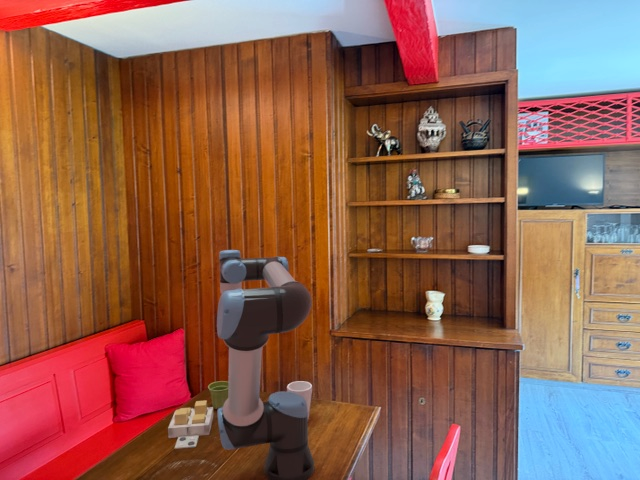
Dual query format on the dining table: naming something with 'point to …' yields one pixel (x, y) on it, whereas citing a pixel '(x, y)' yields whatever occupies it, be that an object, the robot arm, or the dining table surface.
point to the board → (191, 426)
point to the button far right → (201, 407)
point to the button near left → (181, 417)
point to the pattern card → (186, 442)
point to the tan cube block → (188, 410)
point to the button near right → (198, 419)
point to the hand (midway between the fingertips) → (233, 358)
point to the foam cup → (302, 391)
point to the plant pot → (218, 393)
